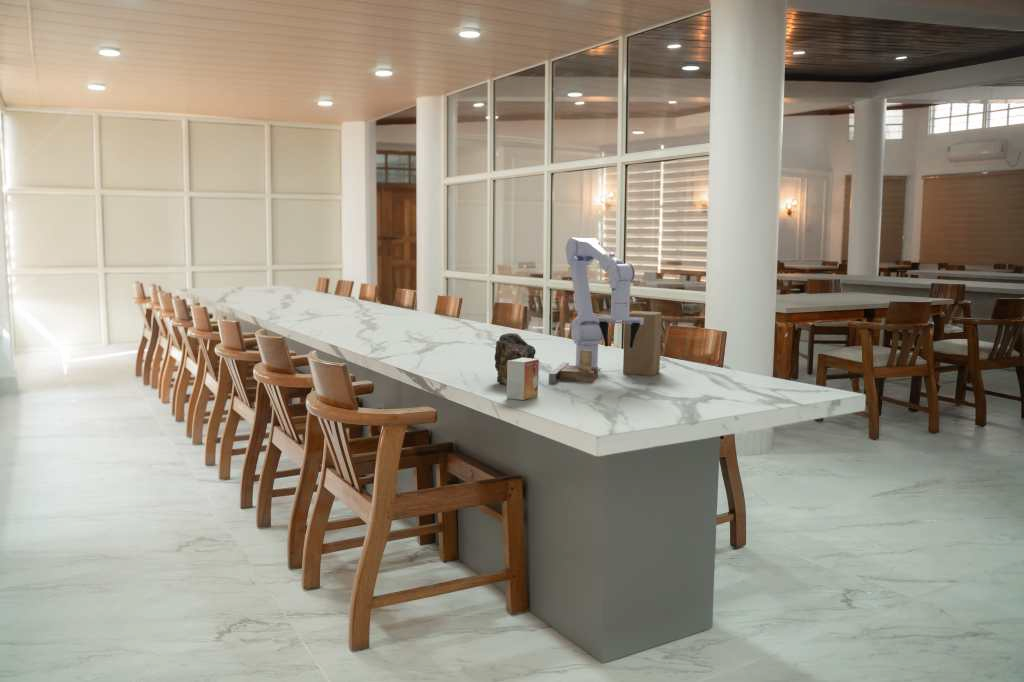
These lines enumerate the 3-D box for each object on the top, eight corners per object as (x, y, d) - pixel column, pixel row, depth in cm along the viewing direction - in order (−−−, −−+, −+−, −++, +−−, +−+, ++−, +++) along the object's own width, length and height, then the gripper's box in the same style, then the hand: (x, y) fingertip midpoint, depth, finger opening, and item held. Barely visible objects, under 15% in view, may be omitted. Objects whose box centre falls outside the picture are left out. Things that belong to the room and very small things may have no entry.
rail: (562, 371, 280) (562, 362, 280) (568, 371, 280) (568, 362, 279) (548, 383, 257) (549, 373, 257) (555, 383, 256) (555, 374, 256)
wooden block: (622, 374, 277) (624, 312, 275) (630, 369, 287) (632, 310, 284) (652, 376, 274) (655, 314, 271) (659, 372, 283) (662, 312, 281)
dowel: (580, 377, 269) (581, 349, 267) (591, 378, 268) (592, 350, 267) (578, 379, 265) (579, 350, 264) (590, 380, 264) (590, 351, 263)
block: (566, 374, 274) (567, 365, 273) (597, 376, 271) (598, 366, 271) (560, 380, 262) (560, 370, 262) (592, 382, 260) (592, 372, 260)
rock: (513, 393, 249) (478, 377, 259) (542, 388, 258) (507, 373, 268) (521, 346, 246) (485, 332, 255) (550, 343, 255) (514, 329, 265)
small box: (523, 400, 229) (524, 362, 228) (506, 398, 232) (506, 360, 231) (538, 396, 236) (539, 358, 235) (521, 394, 239) (522, 357, 238)
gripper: (595, 303, 261) (593, 347, 263) (643, 304, 258) (641, 349, 259) (598, 301, 268) (596, 344, 269) (644, 303, 264) (643, 346, 266)
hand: (618, 346), depth 265 cm, fingers open, 7 cm apart
